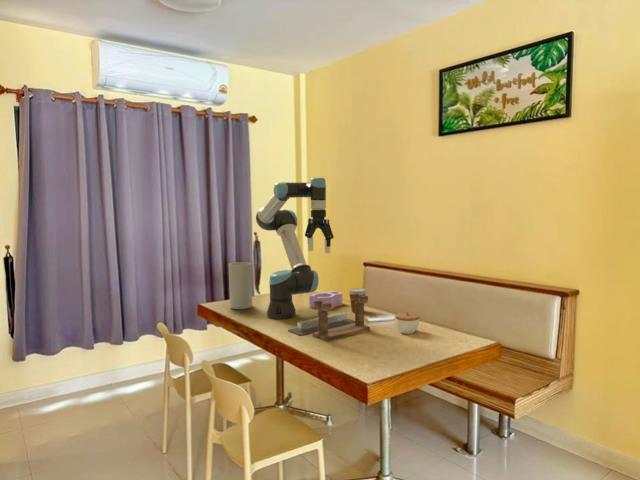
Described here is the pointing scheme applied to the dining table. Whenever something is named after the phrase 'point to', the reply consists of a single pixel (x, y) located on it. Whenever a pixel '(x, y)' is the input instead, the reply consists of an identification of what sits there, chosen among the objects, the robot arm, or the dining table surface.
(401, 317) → the lidded jar
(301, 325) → the steel rail
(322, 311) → the hook rack
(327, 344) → the dining table surface
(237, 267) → the cylinder vase
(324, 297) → the lilac boxy piece
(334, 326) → the rubber mat
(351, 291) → the disposable coffee cup
